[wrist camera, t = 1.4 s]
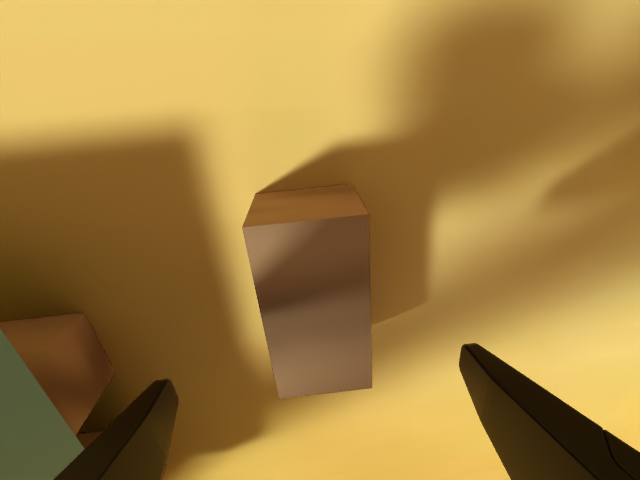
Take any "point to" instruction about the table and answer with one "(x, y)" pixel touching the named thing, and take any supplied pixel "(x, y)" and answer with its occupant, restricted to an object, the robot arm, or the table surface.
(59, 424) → the slab
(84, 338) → the block
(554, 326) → the table surface
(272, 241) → the block
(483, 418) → the robot arm
